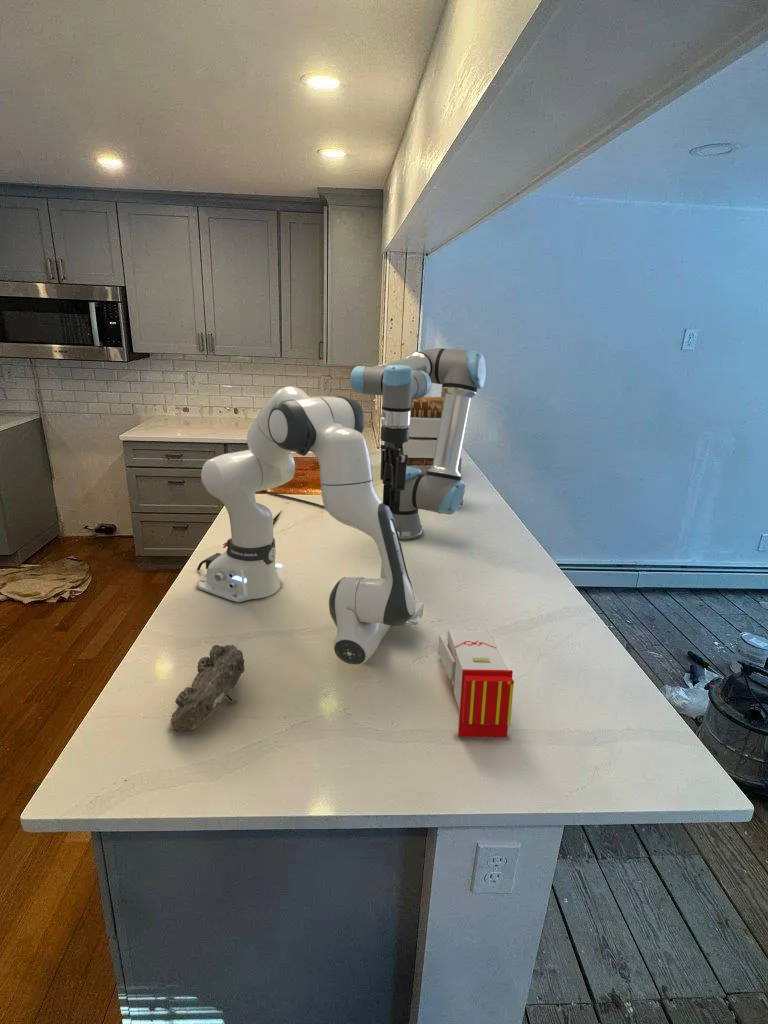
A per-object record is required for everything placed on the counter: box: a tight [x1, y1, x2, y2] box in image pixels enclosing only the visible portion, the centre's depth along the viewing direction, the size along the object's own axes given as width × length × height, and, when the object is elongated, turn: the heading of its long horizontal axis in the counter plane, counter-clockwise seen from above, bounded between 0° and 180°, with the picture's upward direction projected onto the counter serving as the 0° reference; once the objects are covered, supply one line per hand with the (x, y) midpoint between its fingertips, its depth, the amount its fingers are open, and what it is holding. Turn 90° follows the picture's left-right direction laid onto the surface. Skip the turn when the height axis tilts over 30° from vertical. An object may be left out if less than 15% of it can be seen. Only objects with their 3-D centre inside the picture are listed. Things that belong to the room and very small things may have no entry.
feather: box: [273, 510, 282, 526], centre depth 212 cm, size 2×28×2 cm
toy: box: [437, 628, 515, 738], centre depth 117 cm, size 12×13×30 cm
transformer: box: [383, 389, 463, 475], centre depth 268 cm, size 34×33×41 cm
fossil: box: [170, 644, 246, 733], centre depth 111 cm, size 22×10×15 cm
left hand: (390, 591), depth 146 cm, fingers closed on bottle, 5 cm apart
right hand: (390, 509), depth 157 cm, fingers closed on cap, 4 cm apart
